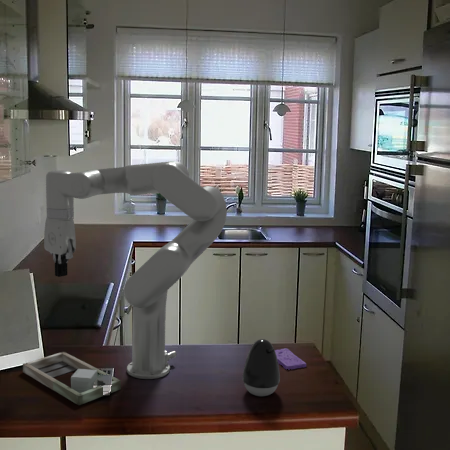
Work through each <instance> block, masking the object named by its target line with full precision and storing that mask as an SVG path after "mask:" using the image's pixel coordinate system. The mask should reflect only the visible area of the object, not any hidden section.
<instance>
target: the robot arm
mask: <svg viewBox="0 0 450 450" xmlns="http://www.w3.org/2000/svg"><path fill="white" fill-rule="evenodd" d="M189 172H190V171H189V169H188V168H187V166H186V165H185V164H183V163H182V162H180V161H175V160H174V161H162V162H160V161H159V162H151V163H138V164H129V165H126V166H119V167H109V168H99V169H98V168H96V169H90V170H84V171H79V172H71V171H70V170H69V171H67V170H50V171H48V172H47V173H46V176H45V194H46V195H45V197H46V201H45V202H46V205H45V207H46V217H45V222H44V233H43V234H44V235H43V238H44V239H43V247H44V250H45V251H46V252H49V254H50V255H52V259H53V262H54V276H55V277H57V278H61V277H66V276H68V263H69V260H71V259H73V258H74V255H73V254H74V253H75V252H76V247H77V241H76V230H75V229H76V226H75V221H74V213H75V212H74V209H75V207H74V206H75V205H74V204H75V203H74V200H75V199H79V200H81V199H82V200H85V199H89V198H91V197H95V196H98V195H107V194H117V193H118V194H122V193H123V194H128V195H130V196H143V195H152V194H153V195H154V194H160V195H161V196H162V197H163V198H165V200H167V201H168V202H169V203H171V204H172V205H173V206H175V207H176V208H178V209H179V210H180V211H181V213H182V212H183V213H184V214H185V215H186V216H188V217H189V218H191V219H192V220H191V221H190V223H188V225H186V226H185V227H184V228H183V230H182V231H180V232H179V233H178V234H177V235H176V236H175V237H174V238H173V239H172V240H171V241H169V242H168V243H165V245H163V246H162V247H160V249H158V250H157V251H156V252H155V253H154V254H152V255H151V257H149V258H148V259H147V260H146V261H145V263H143V264H142V265H141V266H140V267H139V268H138V269H137V270H136V271H135V272H133V274H132V275H131V276H130V277H129V278H128V279H127V280H126V282H125V285H124V286H123V295H124V298H125V300H126V302H127V303H128V304H129V305H130V306H132V329H131V330H132V340H131V341H132V343H131V344H132V346H131V347H132V350H131V354H132V355H131V357H132V358H131V360H132V361H131V362H130V363H128V364H127V366H126V372H127V375H129V376H131V377H133V378H136V379H140V380H141V379H142V380H153V379H160V378H162V377H165V376H166V375H168V374H169V372H171V371H170V370H171V366H170V363H168V362H169V361H170V360H172V359H175V358H176V357H177V354H178V353H177V352H176V351H175V350H173V351H171V352H168V351H167V350H166V316H167V300H168V299H167V297H168V290H169V289H171V288H172V287H173V286H174V285H175V284H176V283H177V282H178V281H179V280H180V279H181V278H182V277H183V276H184V274H185V273H187V271H188V269H189V268H190V267H191V265H192V264H193V263H194V262H195V261H196V260H197V259H198V258H199V257H200V256H201V255H203V254H204V252H205V251H206V250H207V249H208V248H209V247H210V246H211V245H212V244H213V243H214V241H216V239H217V238H219V235H220V234H221V232H222V231H223V229H224V227H225V224H226V221H227V217H228V216H227V213H228V212H227V211H228V210H227V209H228V208H227V204H226V203H227V202H226V200H225V197H224V195H223V193H222V192H221V191H220V190H219V189H218V188H216V187H215V186H211V185H207V186H201V185H200V184H199V183H198V182H196V181H195V180H193V179H192V178H191V177H190V174H189Z"/></svg>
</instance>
